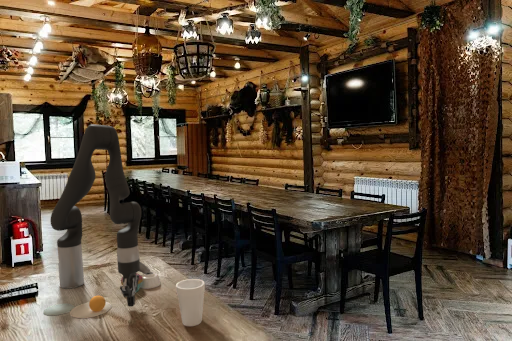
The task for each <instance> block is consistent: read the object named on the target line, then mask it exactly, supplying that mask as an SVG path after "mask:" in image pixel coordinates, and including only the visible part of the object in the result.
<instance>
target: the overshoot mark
mask: <svg viewBox="0 0 512 341" xmlns="http://www.w3.org/2000/svg"><path fill="white" fill-rule="evenodd" d="M74 307H75V305H73V304H72V303H66V302H65V303H57V304H54V305H51V306H49V307H46V308H45V309H44V310H43V315H45V316H50V317H51V316H60V315H65V314H67V313H70V311H71V310H72V309H73V308H74Z"/></svg>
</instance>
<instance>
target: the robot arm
mask: <svg viewBox="0 0 512 341" xmlns="http://www.w3.org/2000/svg"><path fill="white" fill-rule="evenodd" d="M97 150H100V151H101V150H103V151H107V153H108V156H109V161H108V165H107V167H106V171H105V175H104V181H105V185H106V189H107V192H108V194H109V196H108V197H109V218H110V220H111V222H113V224H114V225H115V224H116V225H122V224H126V223H128V224H127V225H126V226H125V227H124V228H121V229H119V230H118V231H117V233H116V246H117V251H116V256H117V257H116V259H117V272H118V273H119V274H120V275H122V277H123V279H122V278H121V279H122V282H123V285H120V286H119V290H120V291H121V293H122V296H123V297H124V298H125V297H126V304H127V307H134V306H135V305H136V300H135V299H136V298H135V295H136V292H135V291H137V286H138V280H139V275H140V274H139V275H136V273H139V272H140V271H139V270H140V262H141V260H140V250H139V249H140V248H139V242H138V241H139V240H138V233H139V226H140V222H141V218H142V208H141V205H140V203H138V202H137V201H127V202H121V203H120V201H122V200H124V199H127V198H128V197H129V195H130V194H131V193H130V192H131V191H130V188H129V185H128V182H127V179H126V175H125V171H124V169H123V168H124V166H123V161H122V154H121V153H122V152H121V146H120V139H119V135H118V132H117V130H116V128H114V127H113V126H110V125H104V124H102V125H101V124H89V125H88V126H87V127H86V128H85V130H84V133H83V136H82V139H81V143H80V146H79V150H78V153H77V157H76V158H75V162H74V164H73V167H72V168H71V169H72V170H71V171H70V173H69V176H68V178H67V182H66V184H65V186H64V189H63V191H62V194H61V195H60V197H59V198H58V201H57V203H56V204H55V206H54V208H53V210H52V212H51V214H50V225H51V228H52V229H53V230H55V231H57V232H58V231H59V232H60V231H61V232H62V231H66V232H65V233H64V234H63V235H61V236H60V237H59V238H58V239H57V242H56V246H57V257H58V258H57V259H58V264H57V265H58V278H59V279H58V280H59V285H60V288H62V289H74V288H79V287H81V286H82V285H85V276H84V275H85V274H84V273H85V272H84V262H83V261H84V259H83V248H82V238H83V217H82V212H81V210H80V208H79V207H78V206H76V205H77V204H78V203H80V201H81V200H82V199H83V198H85V197H86V196H87V195H88V194H89V192H90V191H91V190H92V188H93V186H94V183H95V180H96V176H97V175H96V171H95V167H94V165H93V162H92V157H93V154H94V152H95V151H97Z"/></svg>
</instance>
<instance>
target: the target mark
mask: <svg viewBox="0 0 512 341" xmlns="http://www.w3.org/2000/svg"><path fill="white" fill-rule="evenodd" d="M89 302H90V301H88V302H84V303H81V304H79V305H77V306H74V308H73V309H72V310H71V311H69V315H70V316H71V317H73V318H76V319H87V318H88V319H89V318H95V317H98V316H101V315H104V314H105V313H108V312H109V311H110V310H111V309H112V304H111V303H110V302H109V301H105V302H106V304H105V307H104V308H103V309H102V310H101V311H98V312H95V311H93V310H91V309H90V307H89Z"/></svg>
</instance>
